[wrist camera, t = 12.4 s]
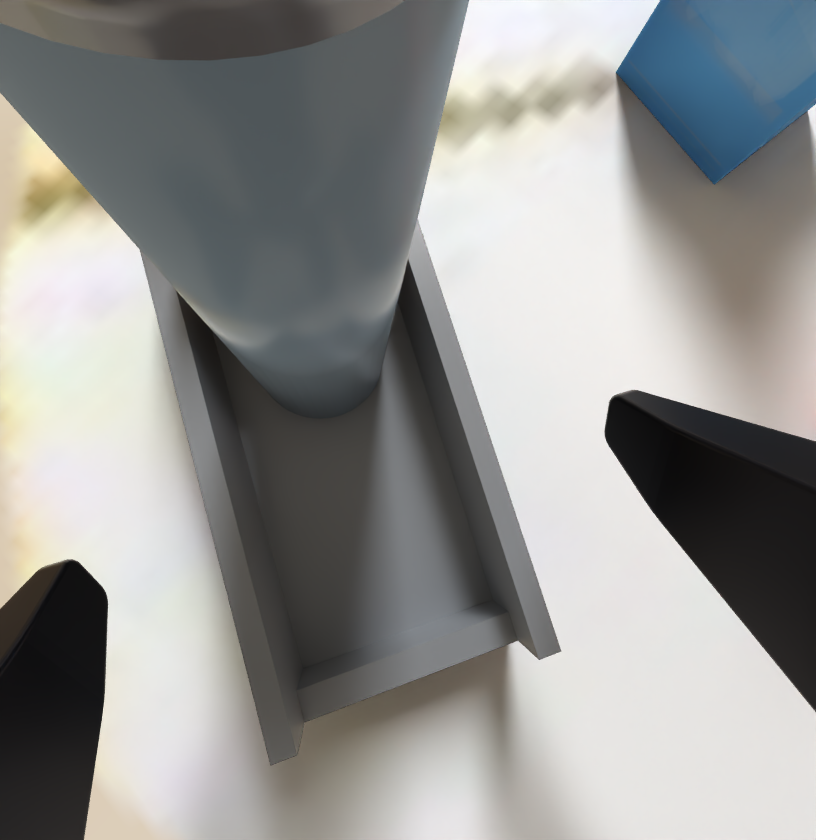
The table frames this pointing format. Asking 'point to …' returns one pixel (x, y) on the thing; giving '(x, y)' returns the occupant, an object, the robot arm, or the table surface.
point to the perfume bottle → (725, 74)
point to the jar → (252, 159)
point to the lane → (354, 516)
